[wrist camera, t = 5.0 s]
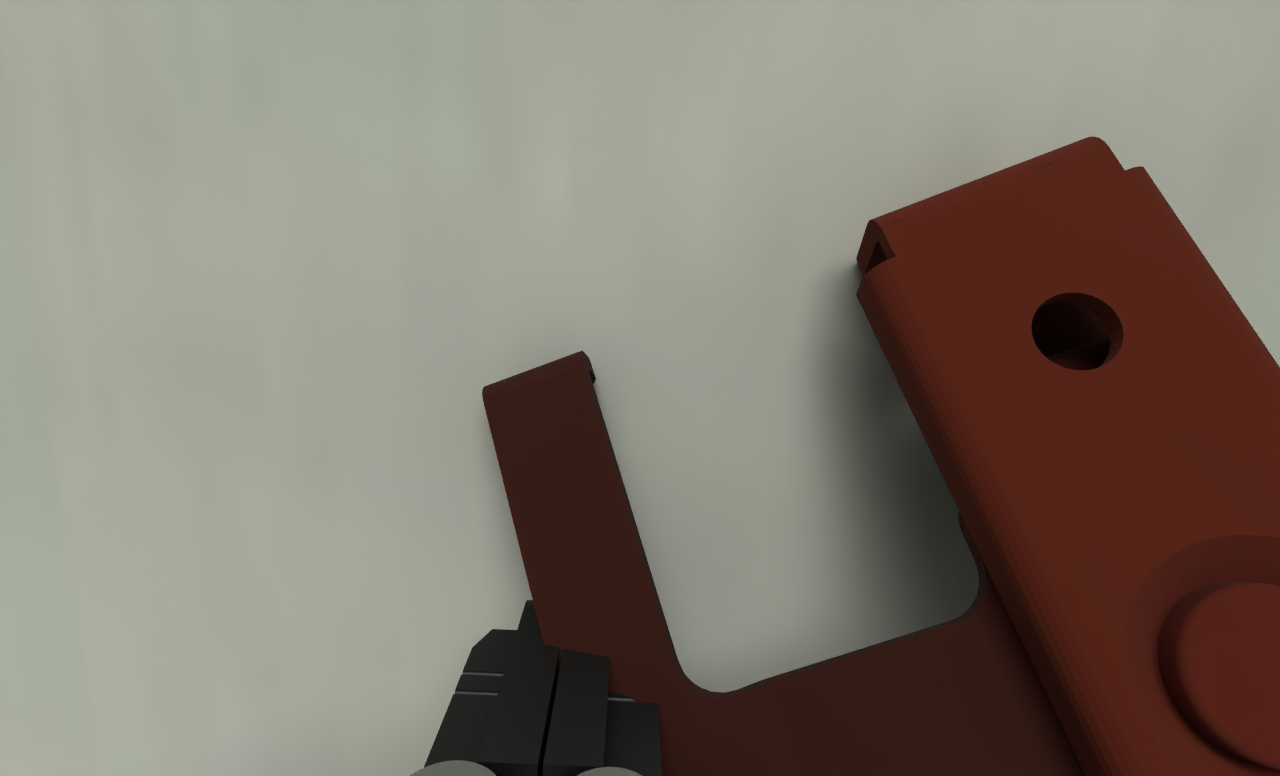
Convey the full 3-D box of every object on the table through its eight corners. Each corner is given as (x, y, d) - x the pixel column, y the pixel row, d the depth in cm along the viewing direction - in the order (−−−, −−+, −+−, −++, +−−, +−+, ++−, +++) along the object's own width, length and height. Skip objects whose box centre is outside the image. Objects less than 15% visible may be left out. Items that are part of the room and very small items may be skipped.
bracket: (780, 1034, 15) (819, 1844, 6) (602, 461, 19) (454, 367, 10) (1228, 910, 14) (2170, 1615, 5) (938, 339, 19) (1127, 110, 9)
